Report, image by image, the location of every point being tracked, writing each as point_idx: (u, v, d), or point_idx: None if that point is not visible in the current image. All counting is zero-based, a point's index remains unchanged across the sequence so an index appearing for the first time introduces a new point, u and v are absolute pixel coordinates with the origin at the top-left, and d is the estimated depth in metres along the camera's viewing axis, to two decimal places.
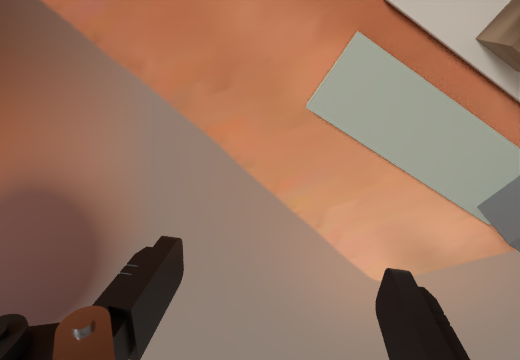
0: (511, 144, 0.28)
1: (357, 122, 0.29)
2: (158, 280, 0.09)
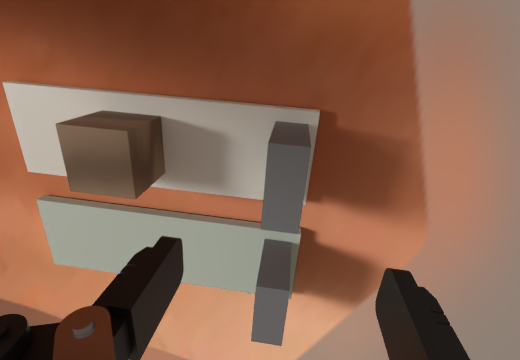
0: (226, 225, 0.26)
1: (97, 259, 0.30)
2: (158, 280, 0.09)
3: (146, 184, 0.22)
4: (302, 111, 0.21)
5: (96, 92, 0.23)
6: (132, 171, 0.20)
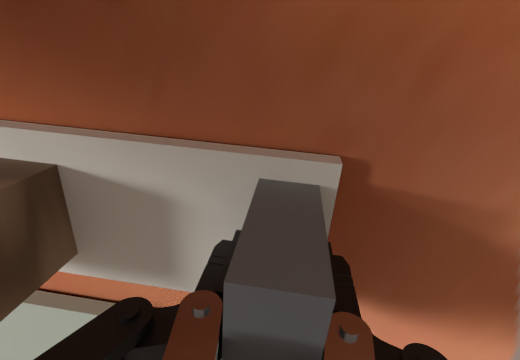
0: None
1: None
2: None
3: (19, 295, 0.12)
4: (309, 162, 0.11)
5: None
6: None
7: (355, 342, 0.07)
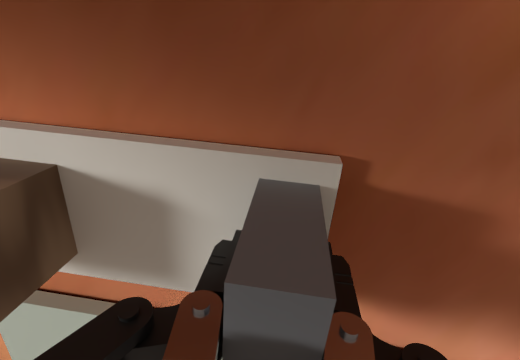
0: None
1: None
2: None
3: (19, 295, 0.12)
4: (309, 162, 0.11)
5: None
6: None
7: (355, 342, 0.07)
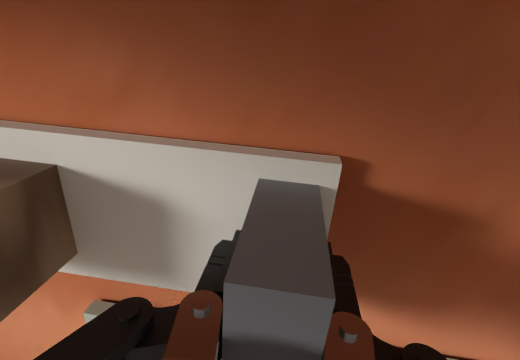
0: None
1: None
2: None
3: (19, 295, 0.12)
4: (308, 163, 0.11)
5: None
6: None
7: (355, 342, 0.07)
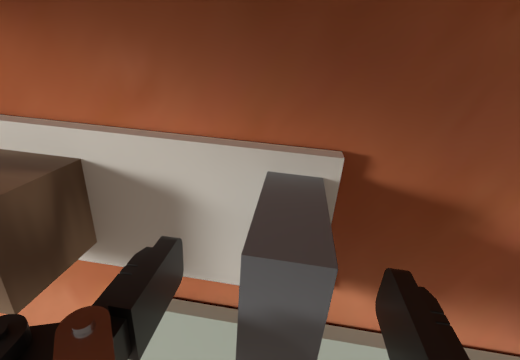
0: None
1: None
2: (158, 280, 0.09)
3: (47, 278, 0.13)
4: (313, 157, 0.12)
5: None
6: (0, 273, 0.11)
7: None
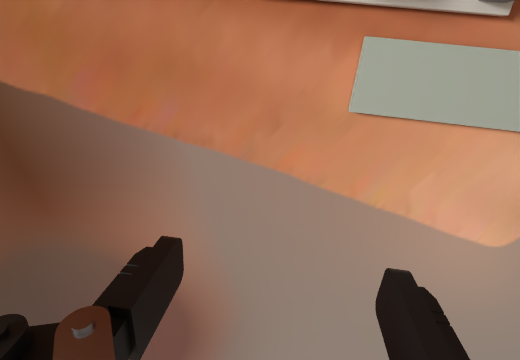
0: None
1: (399, 103, 0.33)
2: (158, 280, 0.09)
3: None
4: None
5: None
6: None
7: None
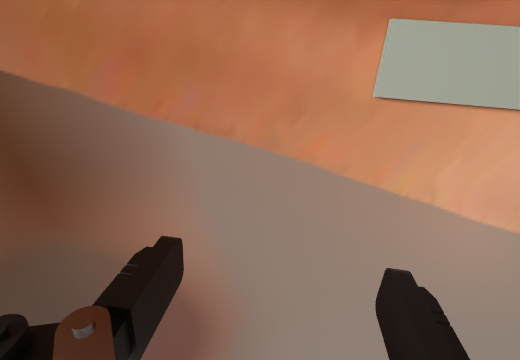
0: None
1: (425, 86, 0.32)
2: (158, 280, 0.09)
3: None
4: None
5: None
6: None
7: None
